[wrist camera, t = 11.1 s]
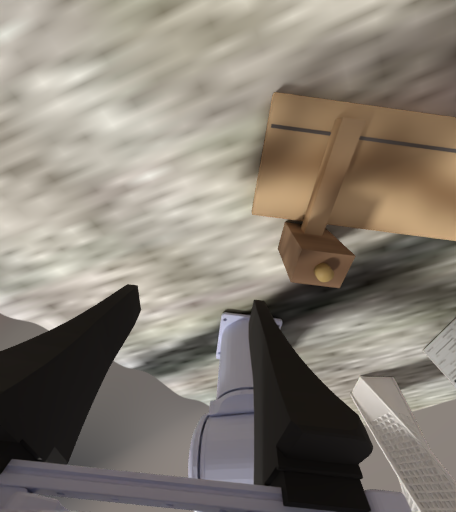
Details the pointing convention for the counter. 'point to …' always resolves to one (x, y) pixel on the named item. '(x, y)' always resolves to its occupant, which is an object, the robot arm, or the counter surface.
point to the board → (362, 167)
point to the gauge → (322, 217)
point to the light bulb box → (444, 352)
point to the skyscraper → (404, 445)
